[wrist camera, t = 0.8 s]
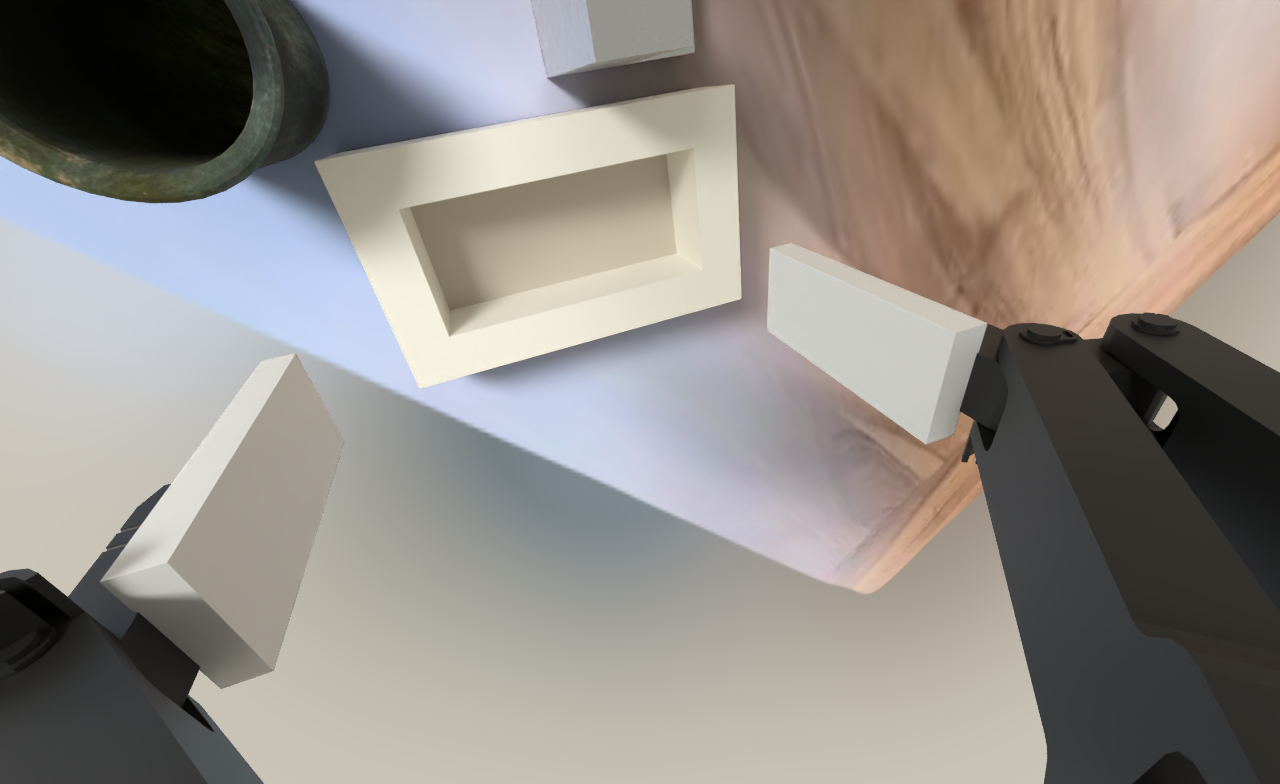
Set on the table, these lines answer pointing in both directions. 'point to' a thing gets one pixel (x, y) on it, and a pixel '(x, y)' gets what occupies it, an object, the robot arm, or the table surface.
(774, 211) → the table surface
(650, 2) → the grey l-shaped block
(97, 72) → the mug
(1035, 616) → the robot arm
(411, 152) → the well block
